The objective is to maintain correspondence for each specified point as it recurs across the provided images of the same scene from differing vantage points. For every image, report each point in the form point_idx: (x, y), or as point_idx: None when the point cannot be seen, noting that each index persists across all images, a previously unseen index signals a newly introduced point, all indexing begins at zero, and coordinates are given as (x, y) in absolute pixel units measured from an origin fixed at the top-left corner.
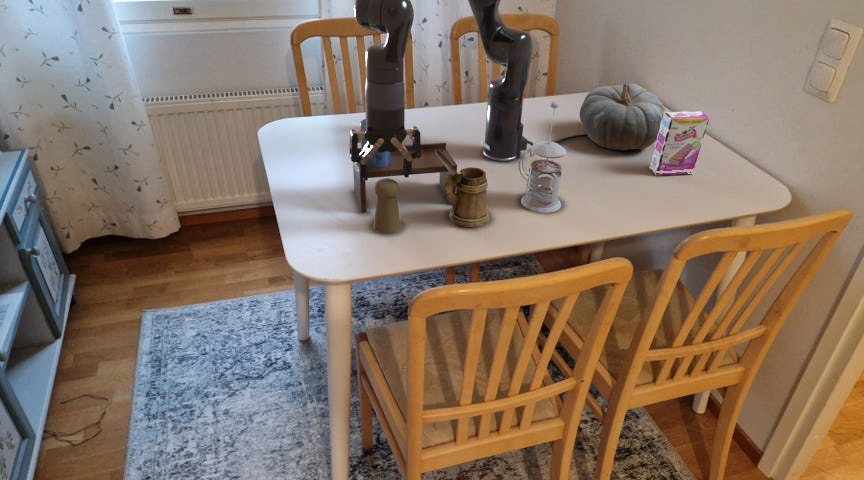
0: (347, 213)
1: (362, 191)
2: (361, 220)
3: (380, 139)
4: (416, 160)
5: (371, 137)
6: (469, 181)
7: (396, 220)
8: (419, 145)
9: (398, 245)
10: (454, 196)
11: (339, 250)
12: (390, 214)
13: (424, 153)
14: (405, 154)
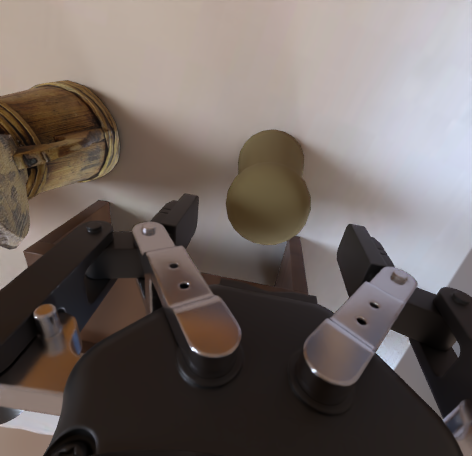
0: (327, 245)
1: (299, 266)
2: (313, 209)
3: (338, 372)
4: (133, 309)
5: (405, 420)
6: None
7: (255, 144)
8: (44, 262)
9: (280, 63)
10: (68, 136)
11: (434, 95)
12: (272, 147)
13: (106, 330)
14: (161, 248)
